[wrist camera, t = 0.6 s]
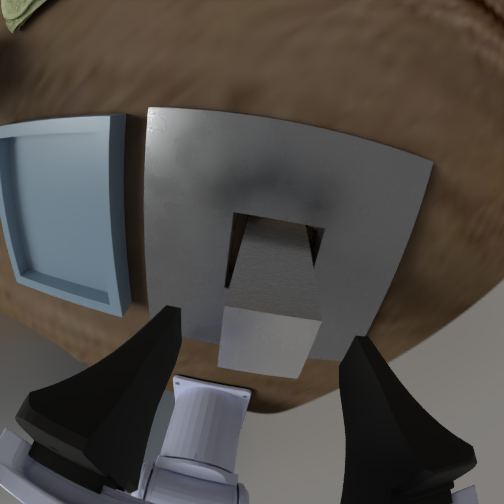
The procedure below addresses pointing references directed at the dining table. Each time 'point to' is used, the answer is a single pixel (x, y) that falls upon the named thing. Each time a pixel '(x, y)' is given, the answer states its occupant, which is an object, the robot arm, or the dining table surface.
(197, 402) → the robot arm
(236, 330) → the pin
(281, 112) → the dining table surface
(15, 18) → the washcloth
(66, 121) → the tray
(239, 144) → the pin plate
